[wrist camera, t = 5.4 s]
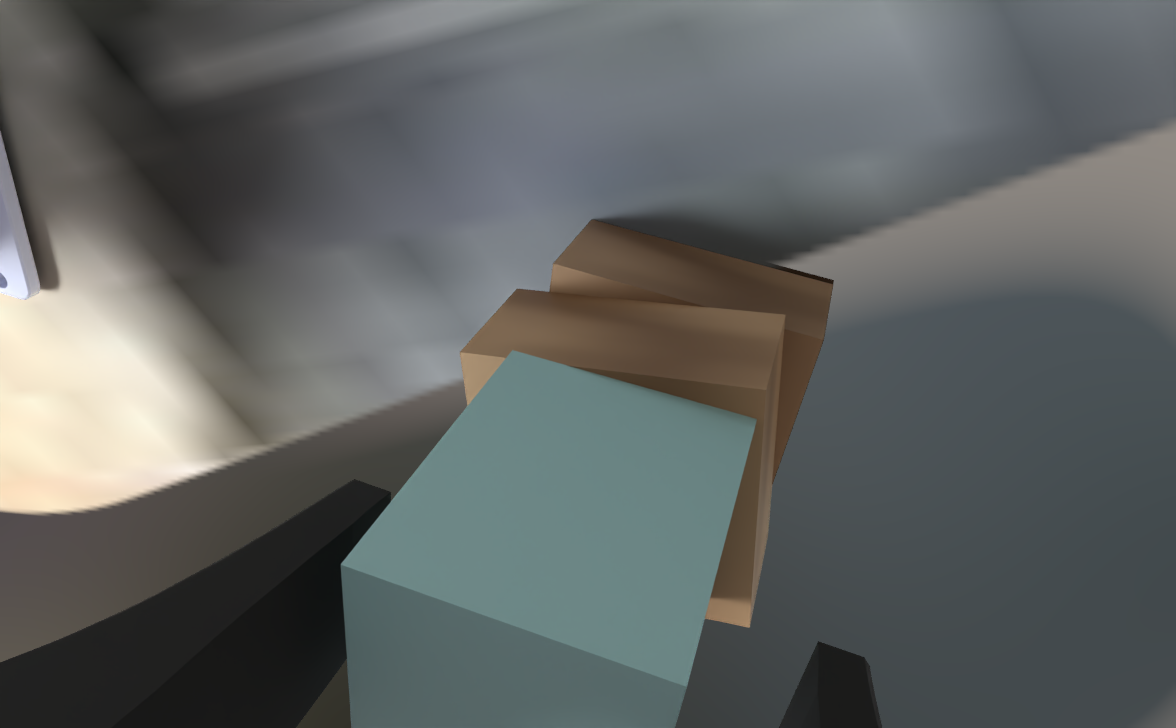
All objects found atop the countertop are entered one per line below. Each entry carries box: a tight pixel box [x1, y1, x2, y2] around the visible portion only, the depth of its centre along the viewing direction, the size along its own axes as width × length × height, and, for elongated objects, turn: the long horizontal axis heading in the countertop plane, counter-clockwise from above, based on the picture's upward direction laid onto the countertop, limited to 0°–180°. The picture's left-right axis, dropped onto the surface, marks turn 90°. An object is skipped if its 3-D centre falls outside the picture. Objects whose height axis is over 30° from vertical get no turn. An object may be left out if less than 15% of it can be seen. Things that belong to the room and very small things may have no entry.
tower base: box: [550, 220, 834, 484], centre depth 17 cm, size 5×5×2 cm
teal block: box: [341, 350, 757, 728], centre depth 12 cm, size 4×4×5 cm
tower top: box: [460, 289, 785, 627], centre depth 15 cm, size 5×5×2 cm
